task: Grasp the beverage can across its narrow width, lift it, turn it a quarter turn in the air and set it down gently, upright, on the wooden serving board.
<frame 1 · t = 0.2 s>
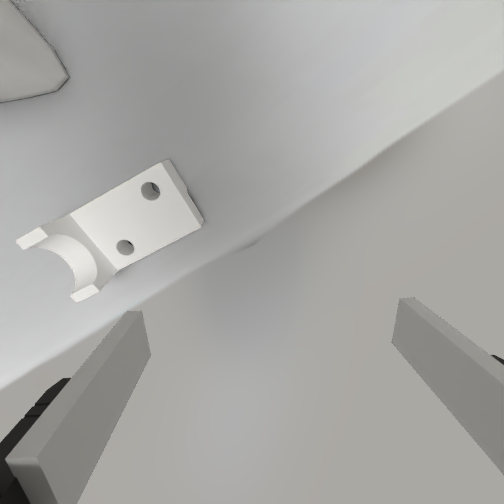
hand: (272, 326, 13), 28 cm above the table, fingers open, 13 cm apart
white pipe support bracket: (139, 216, 39), on the table
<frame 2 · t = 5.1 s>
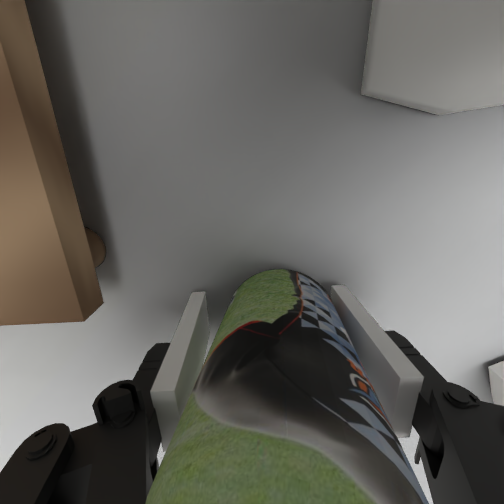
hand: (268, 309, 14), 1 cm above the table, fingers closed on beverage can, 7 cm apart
beverage can: (267, 302, 15), on the table, touching gripper
when the fingers open (5 cm above the table, at t = 10.8 s): beverage can stays where it is, resting on wooden serving board.
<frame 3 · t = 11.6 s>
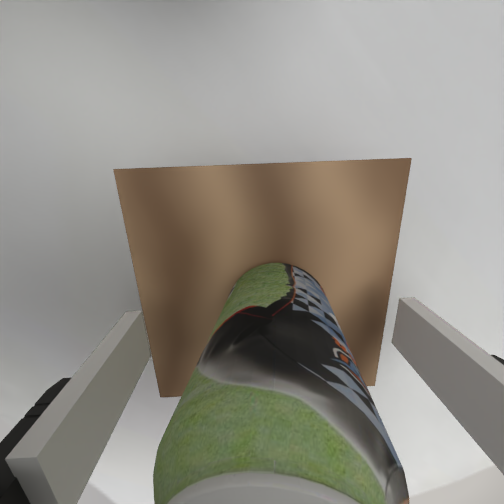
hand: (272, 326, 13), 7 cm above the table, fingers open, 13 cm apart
beverage can: (265, 294, 16), point 4 cm above the table, touching wooden serving board
wooden serving board: (262, 271, 20), on the table
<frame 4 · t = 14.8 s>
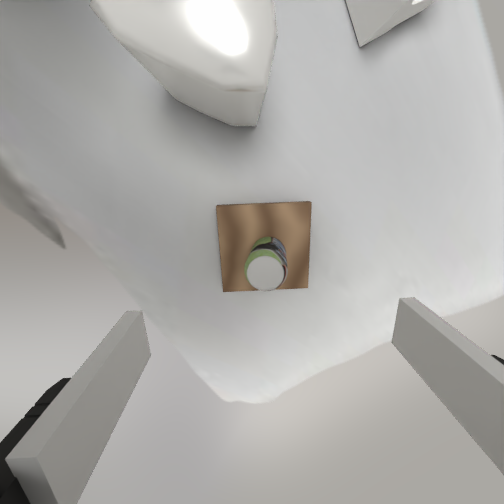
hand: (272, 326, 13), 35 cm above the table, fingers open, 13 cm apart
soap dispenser: (228, 88, 39), on the table
beverage can: (264, 249, 44), point 4 cm above the table, touching wooden serving board
wooden serving board: (263, 243, 48), on the table
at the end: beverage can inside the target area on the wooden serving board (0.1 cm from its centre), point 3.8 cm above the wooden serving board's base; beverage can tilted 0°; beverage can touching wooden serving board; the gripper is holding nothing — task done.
